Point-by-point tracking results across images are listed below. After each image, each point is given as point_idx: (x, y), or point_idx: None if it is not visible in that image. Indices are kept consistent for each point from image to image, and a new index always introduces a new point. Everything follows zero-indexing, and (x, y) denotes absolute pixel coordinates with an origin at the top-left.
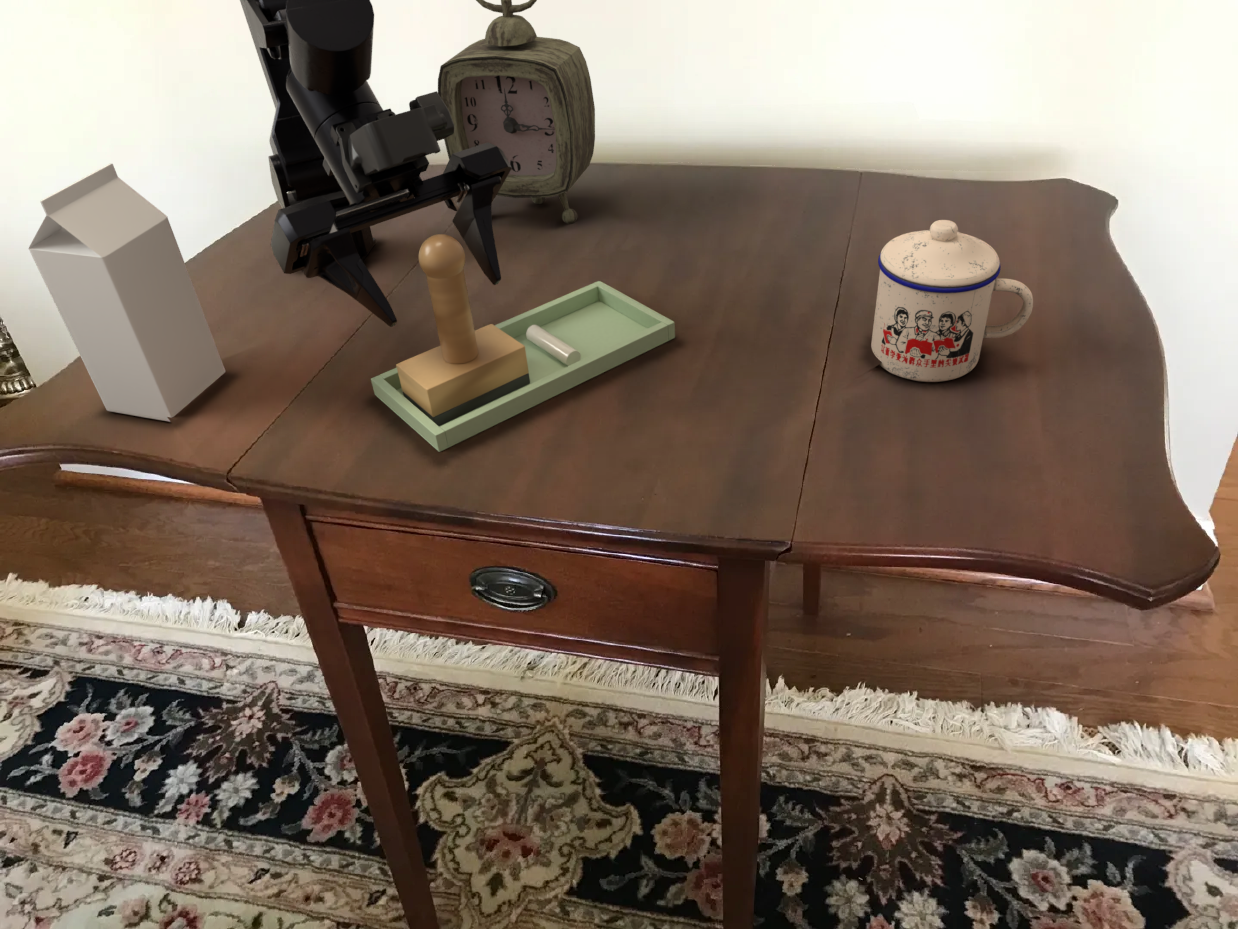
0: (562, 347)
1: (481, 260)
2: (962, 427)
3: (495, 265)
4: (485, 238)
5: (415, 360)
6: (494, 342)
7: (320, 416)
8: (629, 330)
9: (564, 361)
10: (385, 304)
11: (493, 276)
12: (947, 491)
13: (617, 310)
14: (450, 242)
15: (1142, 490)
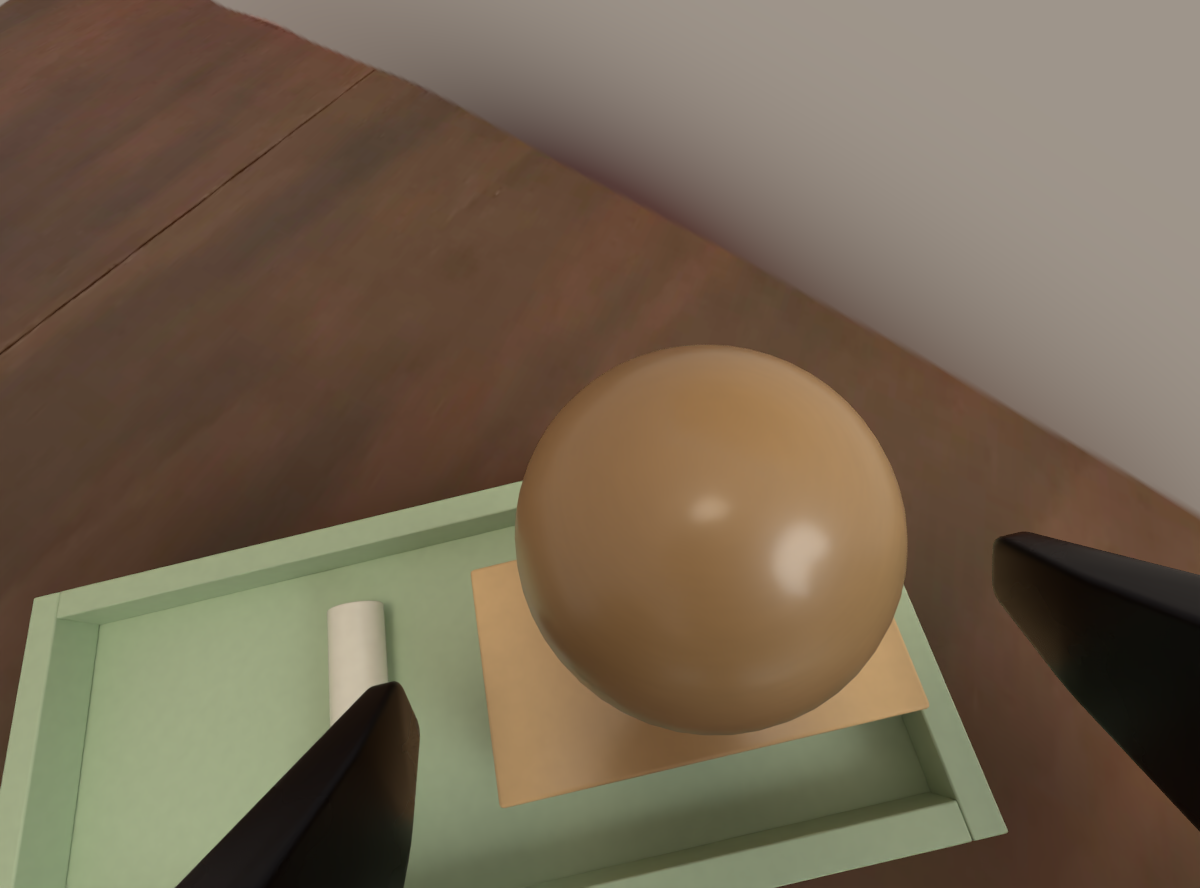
0: (353, 645)
1: (374, 875)
2: (13, 157)
3: (343, 732)
4: (234, 886)
5: (850, 691)
6: (547, 651)
7: (1167, 839)
8: (133, 713)
9: (382, 612)
10: (1094, 567)
11: (397, 713)
12: (156, 75)
13: (66, 866)
14: (618, 393)
15: (9, 18)
